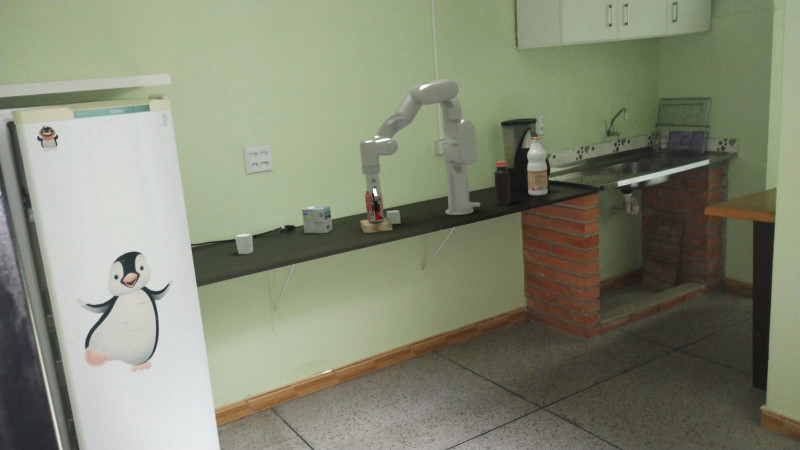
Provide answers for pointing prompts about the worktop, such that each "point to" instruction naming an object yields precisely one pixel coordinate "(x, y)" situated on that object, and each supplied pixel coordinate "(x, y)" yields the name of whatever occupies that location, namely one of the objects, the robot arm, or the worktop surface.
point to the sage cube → (394, 216)
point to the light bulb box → (317, 219)
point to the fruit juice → (537, 168)
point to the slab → (376, 226)
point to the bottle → (502, 184)
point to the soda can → (370, 216)
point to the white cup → (244, 243)
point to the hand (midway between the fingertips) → (374, 211)
